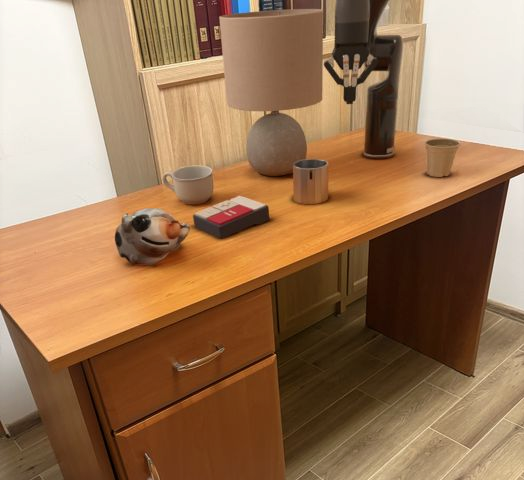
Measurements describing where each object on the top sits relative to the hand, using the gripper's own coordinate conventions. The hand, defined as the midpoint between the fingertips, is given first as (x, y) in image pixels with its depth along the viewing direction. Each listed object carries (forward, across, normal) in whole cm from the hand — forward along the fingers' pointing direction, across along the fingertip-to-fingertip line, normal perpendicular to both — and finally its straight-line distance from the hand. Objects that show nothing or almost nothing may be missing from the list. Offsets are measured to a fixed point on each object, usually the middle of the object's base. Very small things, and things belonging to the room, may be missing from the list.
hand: (349, 103), depth 129 cm
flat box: (+23, +29, +17) cm, 40 cm away
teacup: (+23, +42, -1) cm, 48 cm away
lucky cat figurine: (+22, +44, +34) cm, 60 cm away
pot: (+18, +5, +1) cm, 19 cm away
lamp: (+23, +19, -24) cm, 38 cm away
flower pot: (+23, -27, -15) cm, 39 cm away
